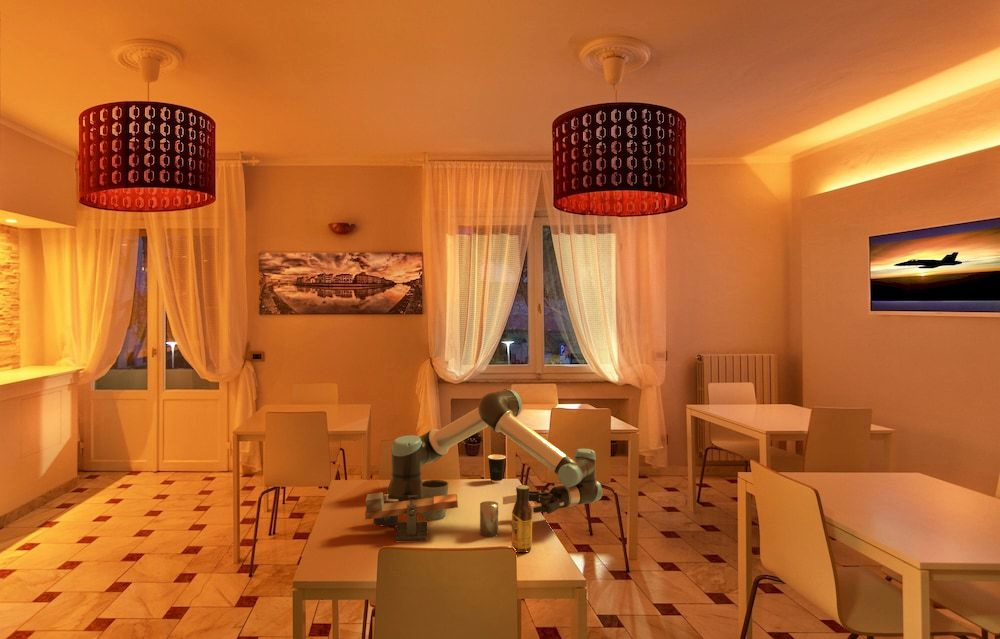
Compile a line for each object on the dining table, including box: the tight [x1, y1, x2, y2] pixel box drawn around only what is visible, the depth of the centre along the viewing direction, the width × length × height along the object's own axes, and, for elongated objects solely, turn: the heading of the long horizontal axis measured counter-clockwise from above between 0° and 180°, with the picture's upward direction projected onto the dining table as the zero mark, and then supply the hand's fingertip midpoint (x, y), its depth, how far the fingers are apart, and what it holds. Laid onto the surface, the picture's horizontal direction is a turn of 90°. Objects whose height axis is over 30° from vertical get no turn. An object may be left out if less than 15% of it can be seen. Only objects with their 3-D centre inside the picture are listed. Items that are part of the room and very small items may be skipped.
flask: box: [373, 493, 400, 528], centre depth 208 cm, size 9×3×11 cm, turn 74°
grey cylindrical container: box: [421, 479, 449, 521], centre depth 217 cm, size 10×10×12 cm
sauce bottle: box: [511, 484, 533, 553], centre depth 186 cm, size 6×6×20 cm
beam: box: [364, 491, 459, 520], centre depth 199 cm, size 30×9×6 cm, turn 96°
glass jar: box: [479, 500, 499, 538], centre depth 200 cm, size 6×6×10 cm
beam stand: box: [395, 495, 428, 542], centre depth 199 cm, size 10×14×11 cm
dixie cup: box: [487, 454, 507, 484], centre depth 264 cm, size 8×8×11 cm
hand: (513, 505), depth 204 cm, fingers open, 13 cm apart
